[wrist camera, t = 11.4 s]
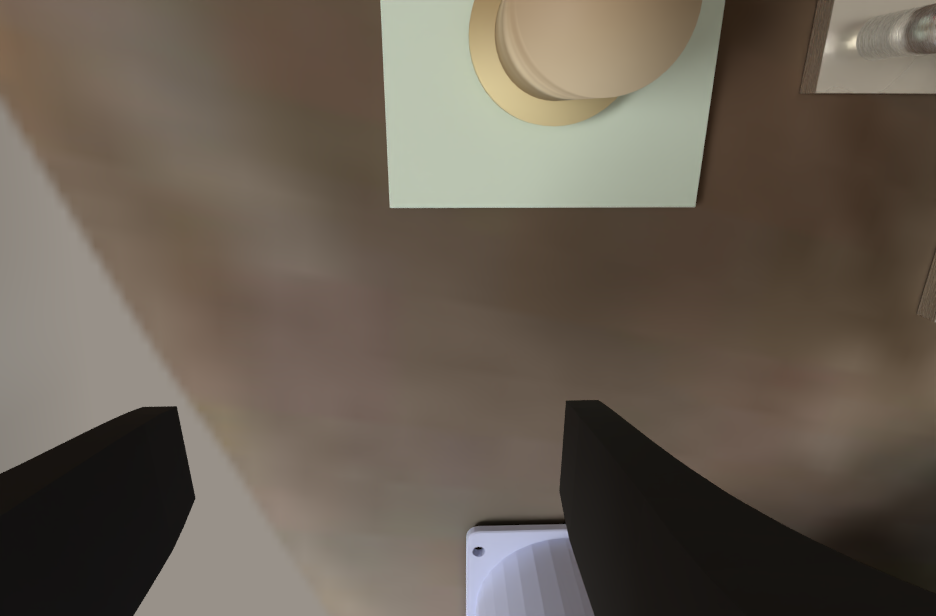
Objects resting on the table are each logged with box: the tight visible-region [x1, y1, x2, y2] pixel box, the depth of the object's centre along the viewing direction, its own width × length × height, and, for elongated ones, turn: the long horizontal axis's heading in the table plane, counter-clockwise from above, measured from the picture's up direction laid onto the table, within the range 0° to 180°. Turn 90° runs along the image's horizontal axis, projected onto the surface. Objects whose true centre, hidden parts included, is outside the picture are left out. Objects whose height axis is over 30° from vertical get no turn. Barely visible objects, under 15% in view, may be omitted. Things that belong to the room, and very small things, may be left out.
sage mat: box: [381, 0, 725, 208], centre depth 16 cm, size 10×10×1 cm
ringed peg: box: [469, 0, 702, 126], centre depth 13 cm, size 5×5×6 cm
